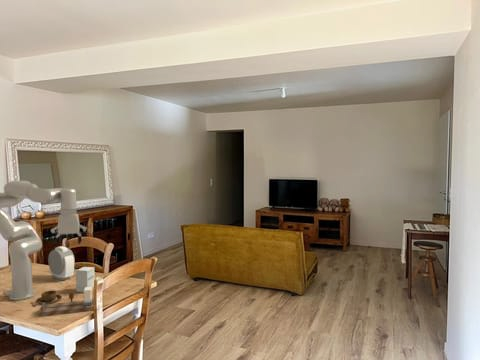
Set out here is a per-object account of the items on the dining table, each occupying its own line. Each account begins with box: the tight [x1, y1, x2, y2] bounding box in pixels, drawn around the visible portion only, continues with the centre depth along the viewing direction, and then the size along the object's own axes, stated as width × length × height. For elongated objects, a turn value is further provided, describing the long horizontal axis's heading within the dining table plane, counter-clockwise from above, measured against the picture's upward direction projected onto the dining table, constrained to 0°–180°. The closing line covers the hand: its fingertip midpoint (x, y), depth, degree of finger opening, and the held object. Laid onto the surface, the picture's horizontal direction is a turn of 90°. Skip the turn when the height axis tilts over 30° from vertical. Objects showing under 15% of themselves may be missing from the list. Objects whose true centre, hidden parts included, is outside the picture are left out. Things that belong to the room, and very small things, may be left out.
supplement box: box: [75, 266, 96, 293], centre depth 201 cm, size 7×7×13 cm
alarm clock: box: [47, 245, 75, 281], centre depth 223 cm, size 18×8×20 cm, turn 59°
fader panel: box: [38, 298, 95, 318], centre depth 175 cm, size 26×10×4 cm, turn 108°
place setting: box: [30, 290, 75, 308], centre depth 183 cm, size 18×20×6 cm
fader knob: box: [83, 287, 94, 306], centre depth 177 cm, size 4×7×7 cm, turn 18°
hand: (69, 244), depth 185 cm, fingers open, 9 cm apart
